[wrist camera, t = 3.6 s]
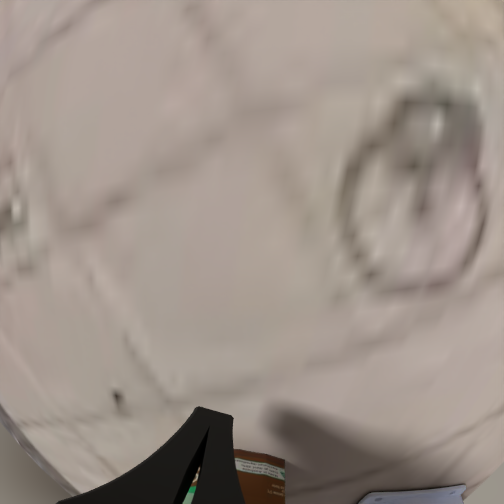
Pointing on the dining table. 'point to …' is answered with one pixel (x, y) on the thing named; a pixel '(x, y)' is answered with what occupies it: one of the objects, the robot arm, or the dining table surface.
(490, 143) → the dining table surface
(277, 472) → the food container
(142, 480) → the robot arm
